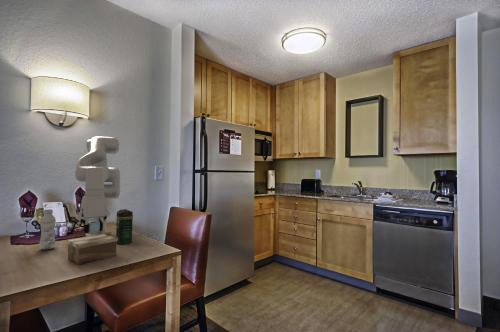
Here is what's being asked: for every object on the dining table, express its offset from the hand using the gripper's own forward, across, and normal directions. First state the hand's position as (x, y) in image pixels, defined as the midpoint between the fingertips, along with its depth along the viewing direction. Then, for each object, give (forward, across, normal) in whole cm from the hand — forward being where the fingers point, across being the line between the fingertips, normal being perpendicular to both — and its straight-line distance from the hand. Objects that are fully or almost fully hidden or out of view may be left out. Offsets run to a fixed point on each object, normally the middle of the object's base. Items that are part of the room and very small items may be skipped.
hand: (93, 231), depth 123 cm
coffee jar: (+12, -22, -13) cm, 29 cm away
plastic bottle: (+12, +9, -30) cm, 34 cm away
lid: (+5, 0, 0) cm, 5 cm away
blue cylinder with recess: (+1, 0, 0) cm, 1 cm away
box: (+12, 0, 0) cm, 12 cm away
